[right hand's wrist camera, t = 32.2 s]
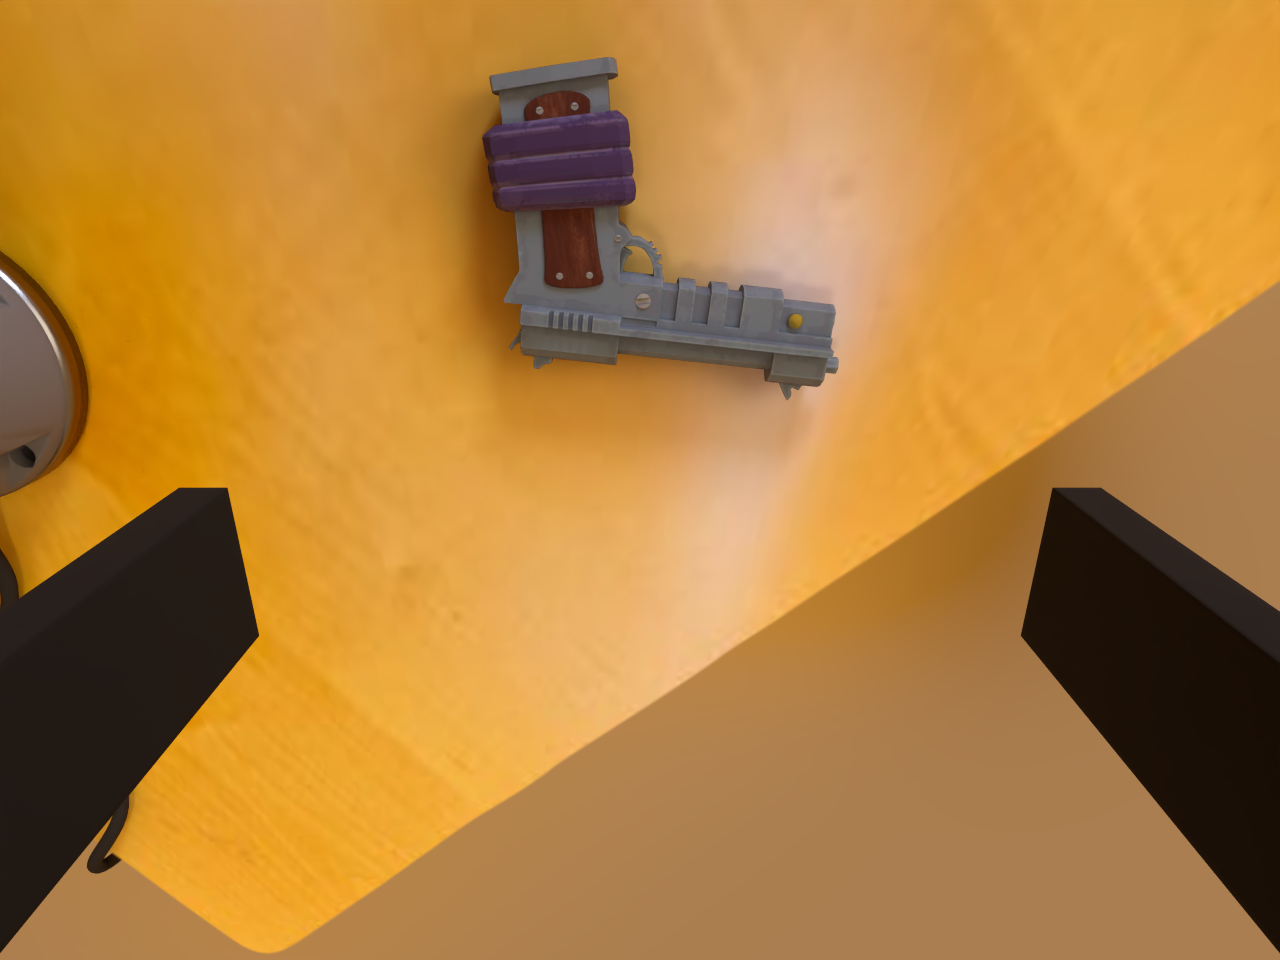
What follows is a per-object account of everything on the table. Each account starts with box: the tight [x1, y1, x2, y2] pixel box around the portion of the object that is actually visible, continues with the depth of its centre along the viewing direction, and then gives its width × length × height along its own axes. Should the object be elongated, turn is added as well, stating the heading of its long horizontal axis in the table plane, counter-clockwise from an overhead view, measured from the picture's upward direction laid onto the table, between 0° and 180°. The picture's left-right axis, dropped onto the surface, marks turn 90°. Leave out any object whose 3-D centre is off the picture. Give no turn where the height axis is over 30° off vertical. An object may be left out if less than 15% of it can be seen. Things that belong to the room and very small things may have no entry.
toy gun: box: [482, 57, 839, 400], centre depth 38 cm, size 4×19×15 cm
